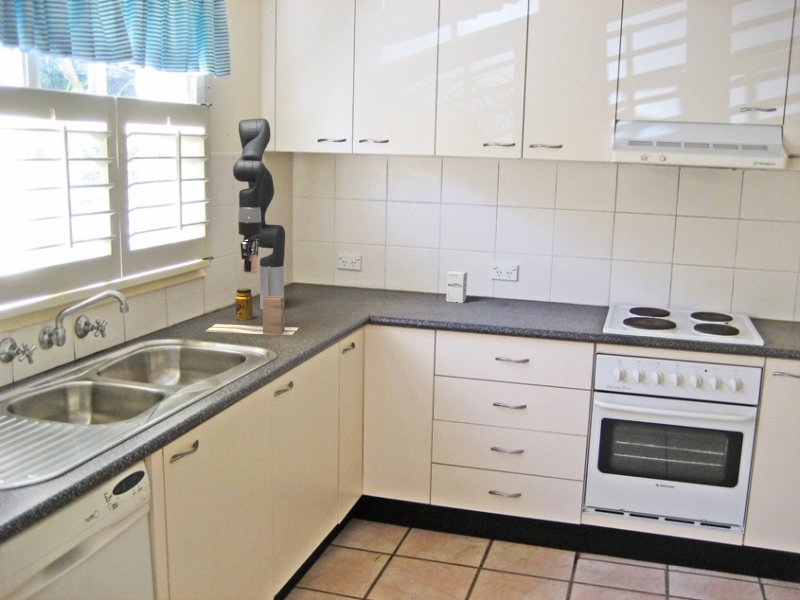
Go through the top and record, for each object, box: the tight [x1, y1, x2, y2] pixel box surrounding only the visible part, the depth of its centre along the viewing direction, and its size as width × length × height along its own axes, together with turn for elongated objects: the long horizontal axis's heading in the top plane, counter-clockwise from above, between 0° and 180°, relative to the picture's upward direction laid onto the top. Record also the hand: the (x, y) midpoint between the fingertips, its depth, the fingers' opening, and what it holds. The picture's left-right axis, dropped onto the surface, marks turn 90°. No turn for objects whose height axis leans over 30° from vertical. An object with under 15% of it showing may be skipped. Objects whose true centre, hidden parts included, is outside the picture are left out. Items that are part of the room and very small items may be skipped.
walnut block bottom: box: [262, 313, 285, 335], centre depth 288 cm, size 6×6×6 cm
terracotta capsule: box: [242, 254, 258, 274], centre depth 287 cm, size 5×5×6 cm
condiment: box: [235, 288, 254, 322], centre depth 308 cm, size 7×8×12 cm
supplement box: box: [445, 270, 468, 304], centre depth 357 cm, size 7×7×13 cm
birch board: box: [205, 323, 299, 336], centre depth 292 cm, size 12×30×1 cm, turn 85°
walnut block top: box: [262, 295, 285, 317], centre depth 287 cm, size 6×6×6 cm
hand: (250, 270), depth 287 cm, fingers closed on terracotta capsule, 4 cm apart
